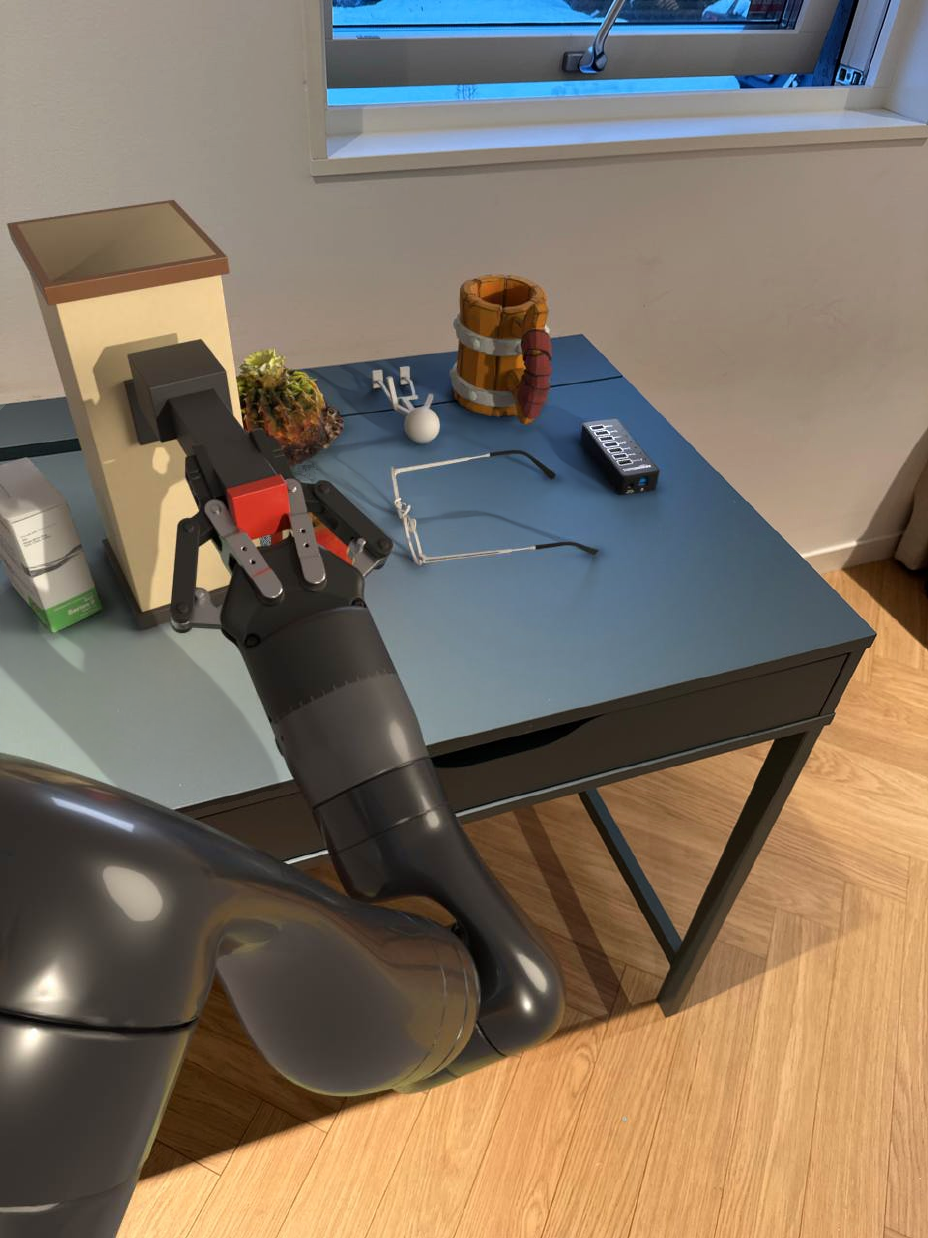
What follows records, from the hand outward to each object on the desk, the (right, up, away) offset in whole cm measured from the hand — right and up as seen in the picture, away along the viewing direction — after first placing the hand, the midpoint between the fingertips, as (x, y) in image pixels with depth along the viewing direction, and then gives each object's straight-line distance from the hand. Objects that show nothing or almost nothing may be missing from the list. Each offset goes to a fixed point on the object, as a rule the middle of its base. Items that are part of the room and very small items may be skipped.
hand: (225, 444), depth 53 cm
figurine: (+8, +13, +51) cm, 54 cm away
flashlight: (-1, -1, +4) cm, 4 cm away
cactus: (-7, +10, +47) cm, 48 cm away
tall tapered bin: (-11, -6, +30) cm, 32 cm away
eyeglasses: (+16, -1, +37) cm, 40 cm away
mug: (+19, +15, +54) cm, 59 cm away
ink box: (-22, -9, +27) cm, 36 cm away
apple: (+1, -7, +30) cm, 30 cm away
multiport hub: (+31, +6, +46) cm, 55 cm away
